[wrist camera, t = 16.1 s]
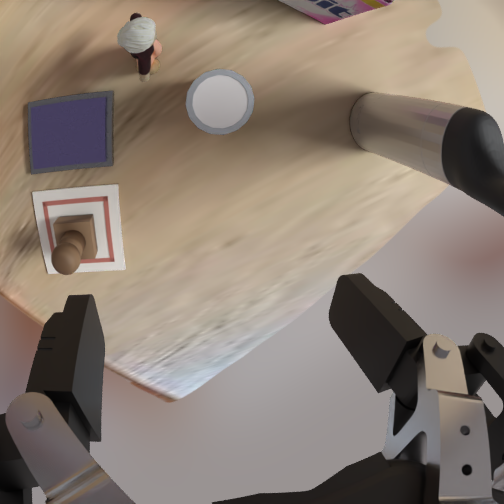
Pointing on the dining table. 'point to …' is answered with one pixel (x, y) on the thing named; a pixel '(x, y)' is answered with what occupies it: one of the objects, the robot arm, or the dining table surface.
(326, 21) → the gum box
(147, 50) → the grandmother figurine
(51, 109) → the ink pad
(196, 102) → the shot glass
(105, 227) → the print card
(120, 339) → the dining table surface
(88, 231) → the stamp
